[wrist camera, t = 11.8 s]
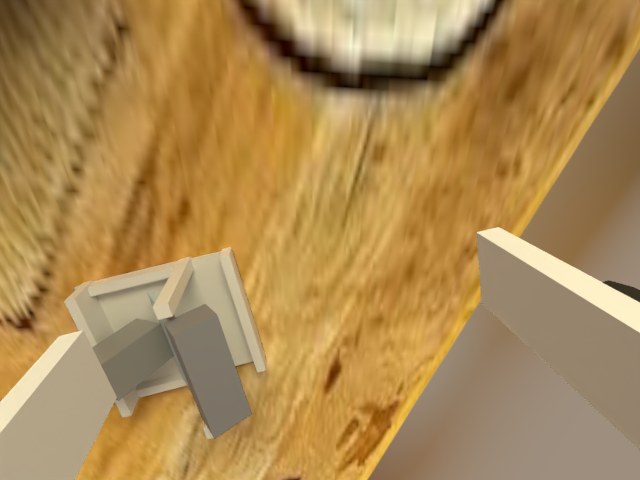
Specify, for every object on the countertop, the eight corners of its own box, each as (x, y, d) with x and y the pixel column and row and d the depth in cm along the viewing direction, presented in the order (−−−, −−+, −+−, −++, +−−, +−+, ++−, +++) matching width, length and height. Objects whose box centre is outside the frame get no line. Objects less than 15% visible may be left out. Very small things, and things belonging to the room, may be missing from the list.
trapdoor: (177, 279, 50) (141, 294, 48) (217, 314, 39) (172, 336, 37) (208, 361, 54) (177, 379, 52) (252, 413, 43) (214, 438, 41)
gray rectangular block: (150, 349, 53) (94, 391, 47) (136, 318, 51) (76, 357, 45) (173, 355, 50) (118, 400, 44) (160, 323, 48) (100, 365, 42)
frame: (75, 284, 49) (15, 340, 37) (231, 246, 50) (220, 290, 38) (127, 392, 55) (90, 470, 44) (265, 357, 56) (265, 423, 45)
